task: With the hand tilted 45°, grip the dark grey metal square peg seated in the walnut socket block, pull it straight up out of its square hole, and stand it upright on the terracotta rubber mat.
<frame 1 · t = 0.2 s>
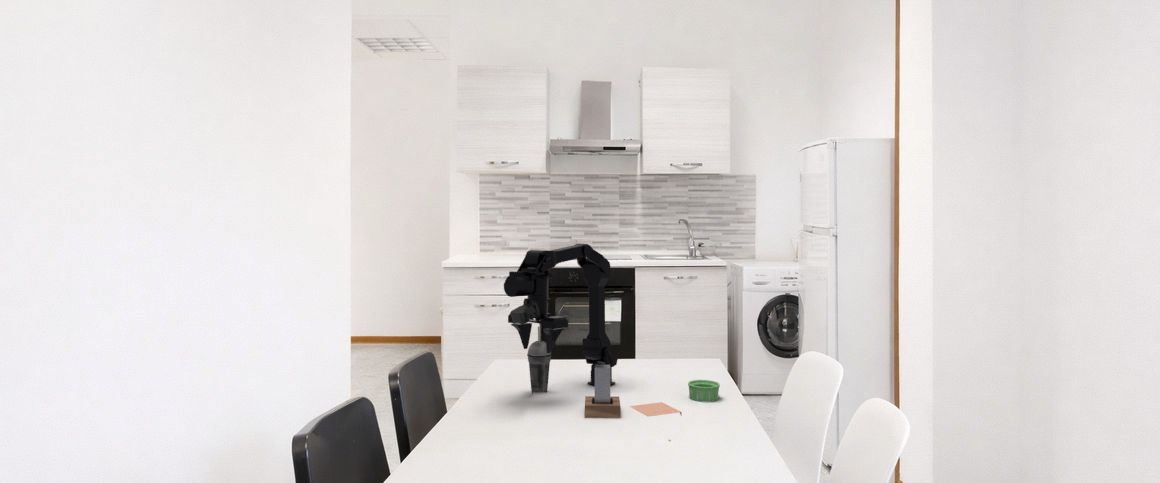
hand: (536, 350, 174), 14 cm above the table, tool pointing down, fingers open, 9 cm apart
beverage cup: (539, 394, 184), on the table
peg: (602, 412, 161), point 1 cm above the table, touching socket block
mat: (655, 412, 165), on the table
ramekin: (703, 399, 179), on the table
socket block: (602, 416, 161), on the table
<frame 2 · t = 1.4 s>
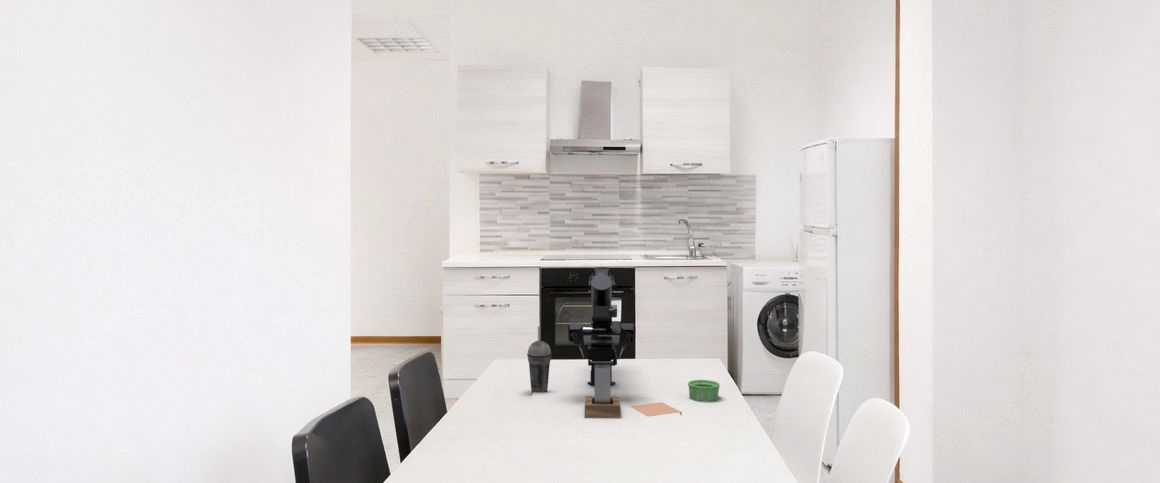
hand: (601, 358, 169), 13 cm above the table, tool tilted 45°, fingers open, 9 cm apart
nothing on the table moved.
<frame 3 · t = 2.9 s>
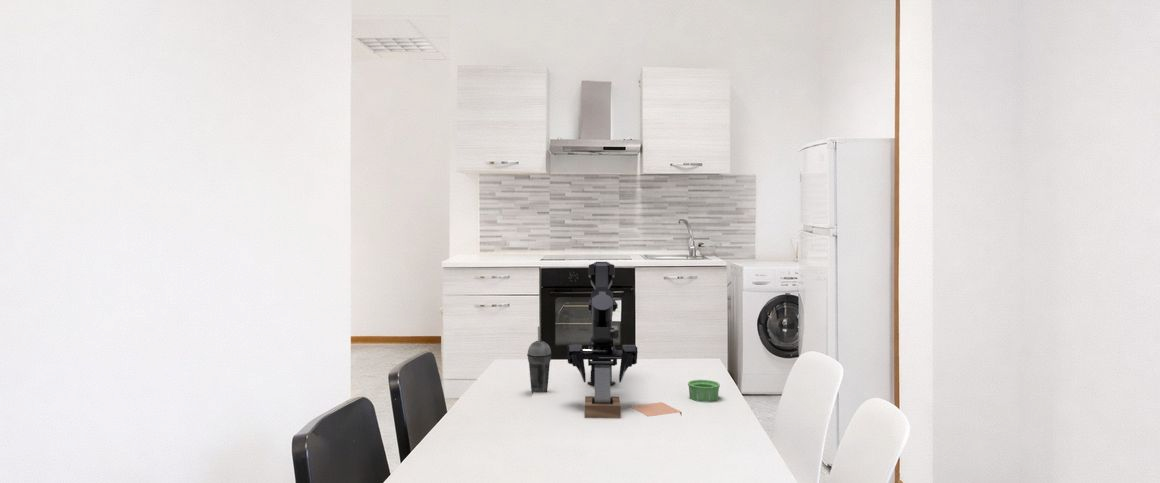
hand: (602, 381, 162), 9 cm above the table, tool tilted 45°, fingers open, 9 cm apart
nothing on the table moved.
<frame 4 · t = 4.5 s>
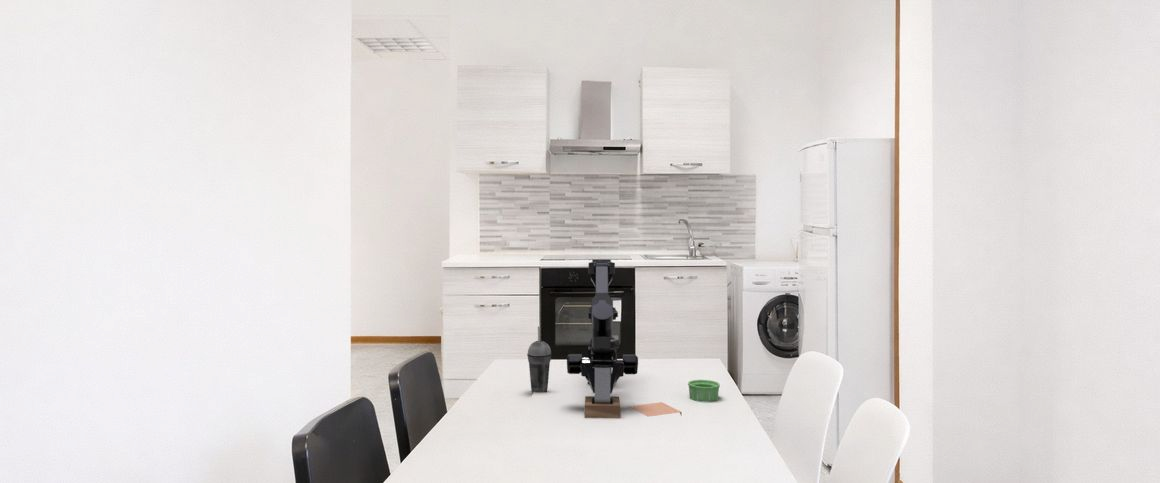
hand: (602, 392, 160), 7 cm above the table, tool tilted 45°, fingers closed on peg, 4 cm apart
peg: (602, 412, 161), point 1 cm above the table, touching gripper, socket block
everything else where it was.
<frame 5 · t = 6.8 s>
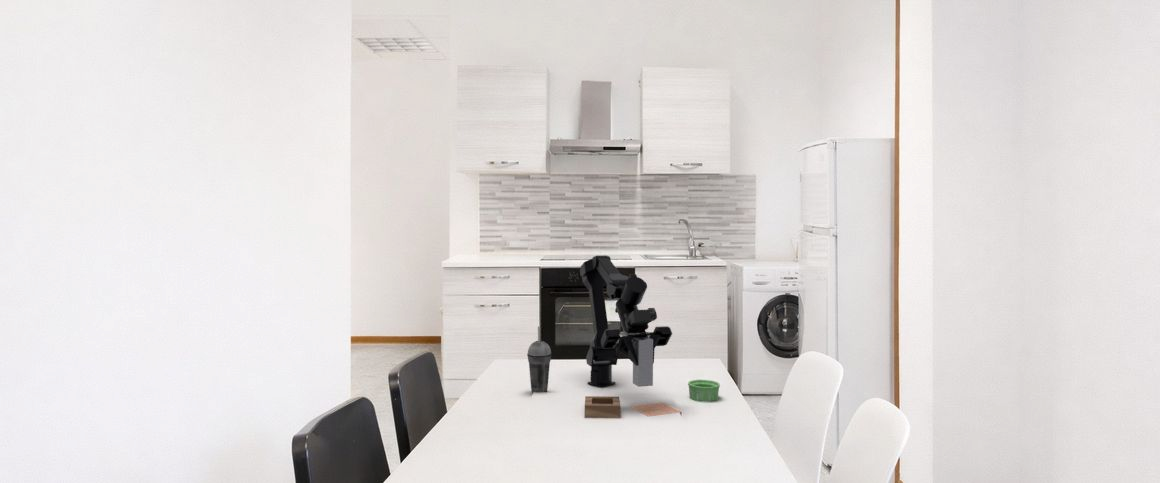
hand: (644, 364, 162), 13 cm above the table, tool tilted 45°, fingers closed on peg, 4 cm apart
peg: (642, 384, 163), point 8 cm above the table, touching gripper
everything else where it was.
when the fingers open (8 cm above the table, at t = 9.1 s): peg drops 1 cm, resting on mat.
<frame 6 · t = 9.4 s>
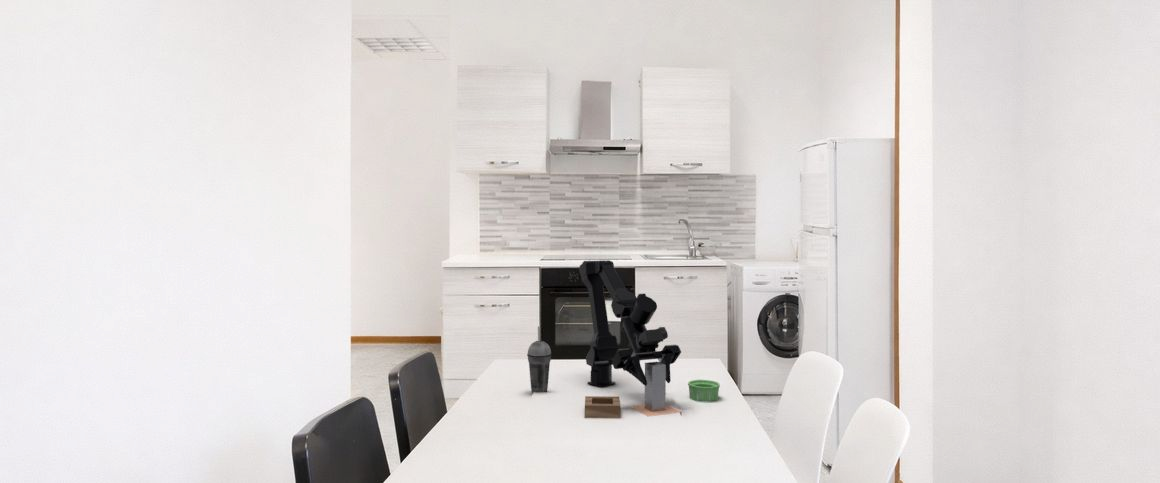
hand: (657, 383, 163), 8 cm above the table, tool tilted 45°, fingers open, 7 cm apart
peg: (655, 408, 165), point 1 cm above the table, touching mat
everything else where it was.
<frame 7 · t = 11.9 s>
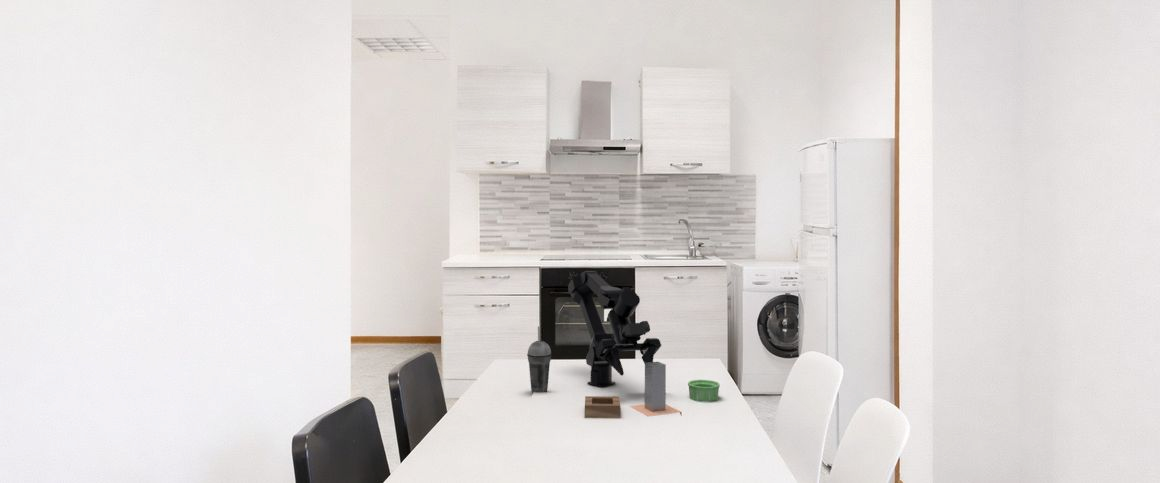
hand: (637, 374, 172), 8 cm above the table, tool tilted 40°, fingers open, 9 cm apart
nothing on the table moved.
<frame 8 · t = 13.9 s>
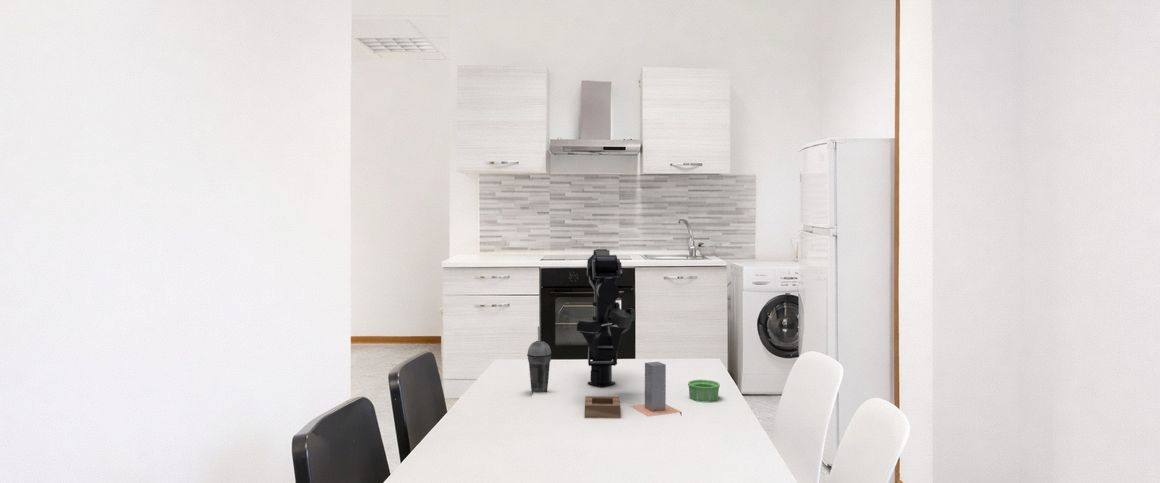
hand: (605, 353, 178), 13 cm above the table, tool pointing down, fingers open, 9 cm apart
nothing on the table moved.
at the end: peg inside the target area on the mat (0.0 cm from its centre), point 1.0 cm above the mat's base; peg tilted 0°; the gripper is holding nothing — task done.
